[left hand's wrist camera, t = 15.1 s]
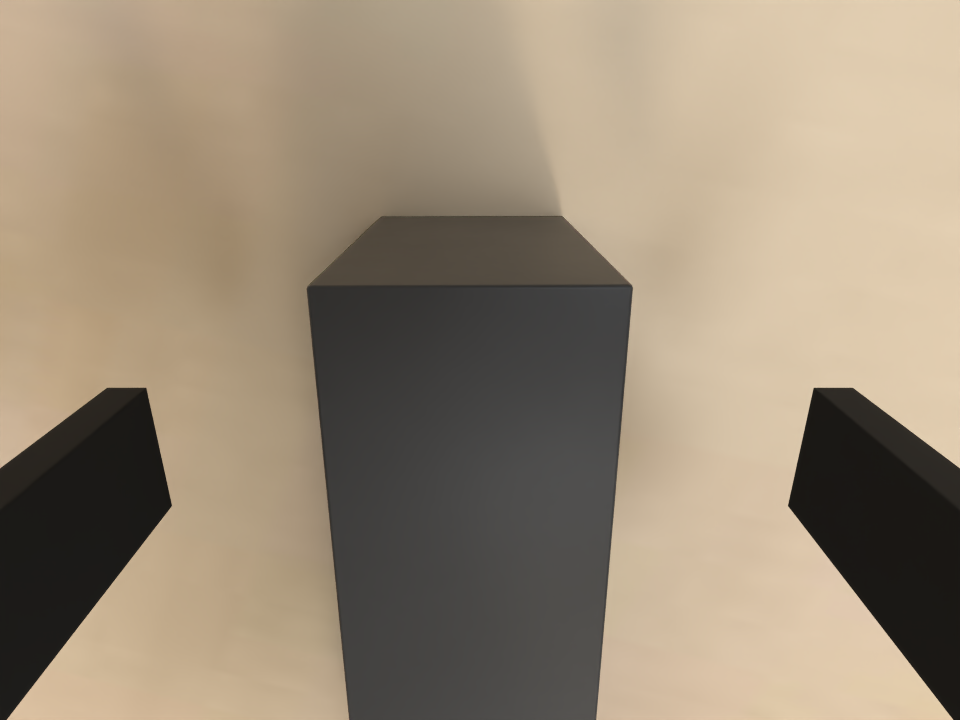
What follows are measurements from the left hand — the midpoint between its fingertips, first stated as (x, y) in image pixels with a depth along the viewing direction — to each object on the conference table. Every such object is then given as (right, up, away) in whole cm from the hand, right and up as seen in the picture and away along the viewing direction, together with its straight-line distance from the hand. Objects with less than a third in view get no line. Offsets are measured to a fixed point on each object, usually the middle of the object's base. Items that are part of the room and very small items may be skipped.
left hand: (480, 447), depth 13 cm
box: (0, -5, +11) cm, 13 cm away
